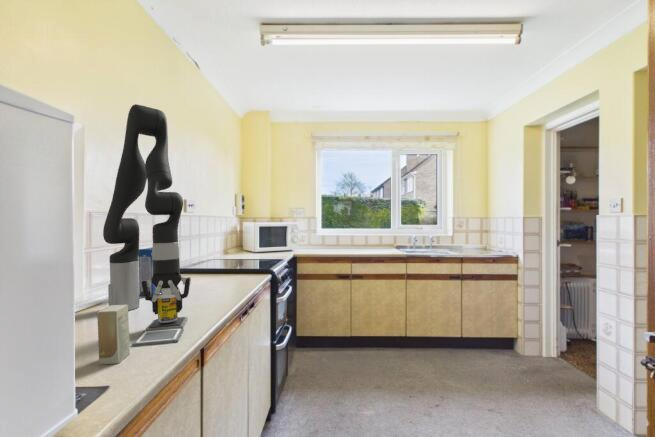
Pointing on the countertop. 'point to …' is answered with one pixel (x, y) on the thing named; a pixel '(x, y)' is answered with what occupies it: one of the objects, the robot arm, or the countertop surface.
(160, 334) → the grey square pad
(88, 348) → the countertop surface
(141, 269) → the milk carton
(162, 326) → the ink pad
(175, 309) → the supplement bottle
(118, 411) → the countertop surface
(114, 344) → the skincare box
